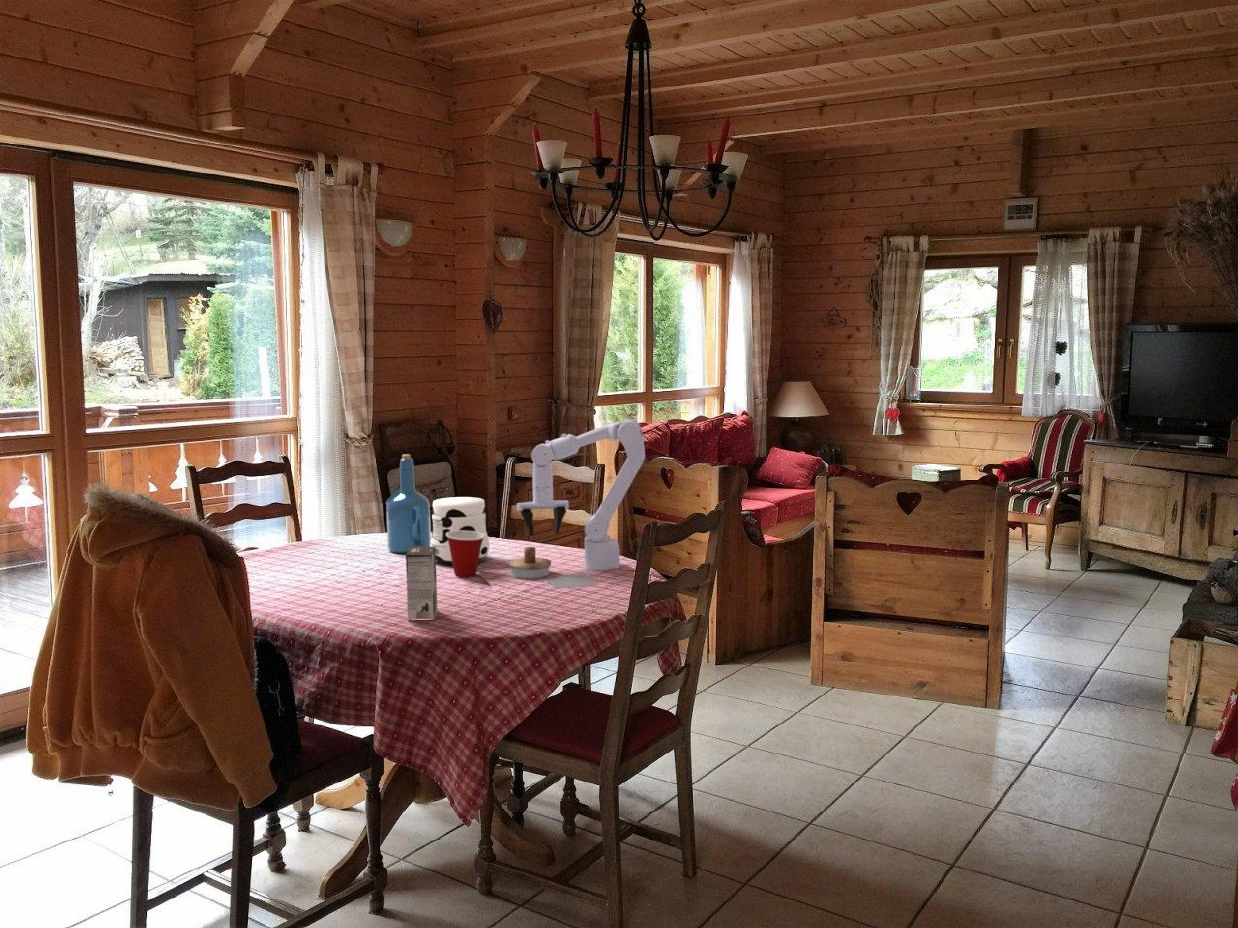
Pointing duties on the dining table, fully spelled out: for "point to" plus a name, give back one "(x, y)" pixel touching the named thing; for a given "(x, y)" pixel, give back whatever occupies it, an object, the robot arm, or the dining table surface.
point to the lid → (529, 561)
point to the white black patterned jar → (457, 523)
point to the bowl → (529, 573)
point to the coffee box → (421, 582)
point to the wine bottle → (407, 513)
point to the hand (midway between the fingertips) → (543, 534)
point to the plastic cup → (465, 551)
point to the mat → (570, 581)
